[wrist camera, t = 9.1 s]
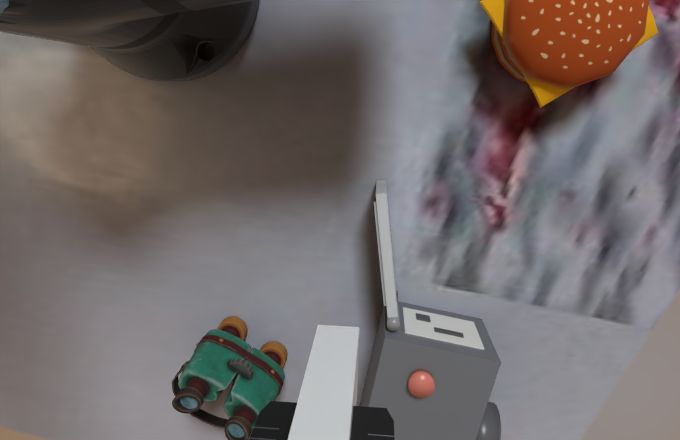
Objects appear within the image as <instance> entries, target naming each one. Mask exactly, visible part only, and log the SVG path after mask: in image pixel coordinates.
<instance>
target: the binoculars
mask: <svg viewBox="0 0 680 440" xmlns="http://www.w3.org/2000/svg"><path fill="white" fill-rule="evenodd" d="M246 335H247V326H246V324H245V322H244V321H243V320H242V319H240V318H238V317H235V316H230V317H227V318H225V319H224V320H223V321H222V323H221V324H220V326H219V327H218V329H215V330H211V331H209V332H208V333H207V334H206V335H205V336H204V337H203V338H202V339H201V341H200V342H199V343H198V344H197V347H196V349H195V351H194V354H193V356H192V357H191V359H190V361H188V362H186V363H185V364H184V365H183V366H182V367H181V369H180V371H179V372H178V373H177V375H176V376H175V378H174V379H173V381H172V389H173V393H174V395H175V398H174V399H173V401H172V405H173V407H174V408H175V409H176V410H177V411H179V412H181V413H190V414H191V415H192V416H194V417H196V418H198V419H200V420H202V421H203V422H206V423H208V424H211V425H213V426H216V427H221V428H225V435H226V437H227V438H228V440H248V439H249V436H250V434H251V431H253V428H254V425H255V423H256V420H257V417H258V415H259V412H260V411H261V410H262V409H263V408H264V407H265V406H266V405H267V404H268V403H269V402H270V401H274V400H275V398H276V396H277V395H279V393H280V391H281V388H282V386H283V381H284V378H285V374H284V371H283V369H282V367H283V366H284V364H285V362H286V359H287V350H286V348H285V347H284V346H283V345H282V344H281V343H279V342H274V341H272V342H268V343H266V344H264V345H263V346H262V348H261V349H260V351H259V350H257V349H256V348H252V350H251V352H249V350H250V349H251V345H249V344H248V343H246V342H245V341H243V340H244V339H245V337H246ZM245 359H246V361H245ZM182 371H183V372H182ZM181 372H182V374H181V376H180V379H179V381H178V375H179V374H180V373H181ZM231 381H233V384H232V388H231V390H230V392H229V394H228V397H227V399H226V401H225V404H224V410H225V412H226V414H227V415H228V416H229V417H230V418H229V419H228V420H227V419H223V418H219V417H216V416H214V415H211V414H209V413H207V412H205V411H203V410H201V409H200V407H201V406H202V404H203V401H206V402H213V401H215V400H217V398H218V397H219V396H220V394H221V393H222V391H223V390H225V389H226V388H227V387H228V386H229V385H230V383H231Z"/></svg>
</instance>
